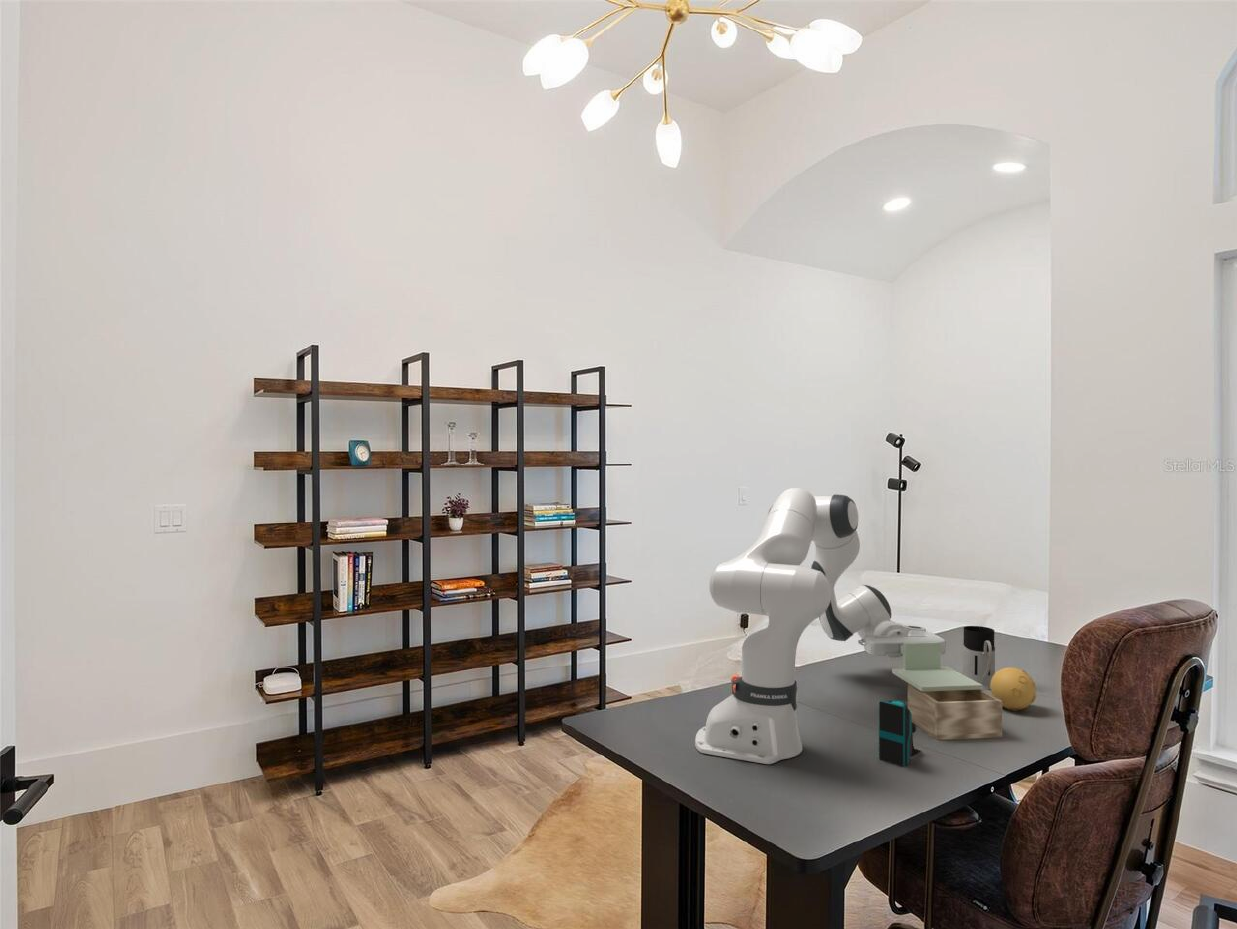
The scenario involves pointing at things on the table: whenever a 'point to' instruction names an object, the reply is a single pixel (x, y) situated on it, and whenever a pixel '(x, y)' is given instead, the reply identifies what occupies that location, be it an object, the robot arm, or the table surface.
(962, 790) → the table surface
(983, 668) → the glass holder
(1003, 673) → the stress ball
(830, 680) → the table surface
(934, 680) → the lid
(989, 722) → the wooden box
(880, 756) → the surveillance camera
